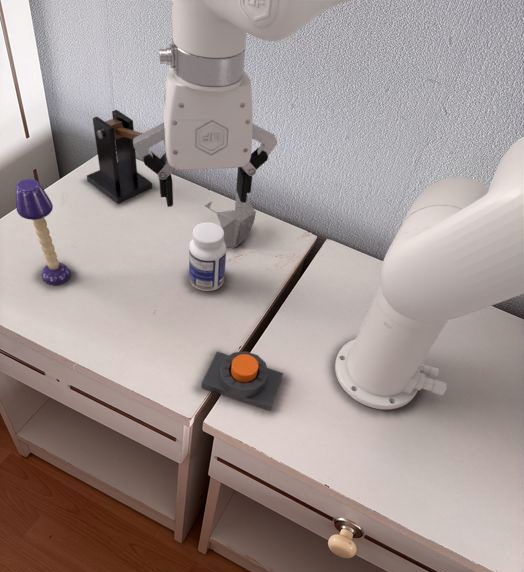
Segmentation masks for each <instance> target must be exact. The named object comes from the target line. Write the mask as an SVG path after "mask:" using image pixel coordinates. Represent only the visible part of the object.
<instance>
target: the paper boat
mask: <svg viewBox="0 0 524 572" xmlns="http://www.w3.org/2000/svg"><path fill="white" fill-rule="evenodd" d="M212 203H213V202H212V201H209V202H208V203H206V204H204V207H205V208H207V209H209V210H210V211H212V212H214V213H216V216H217V218H218V221H219V224H220V227H221V228H222V229H223V231H224V242H225V244H226V248H227V249H236V248H237V247H238V246H239V245H241V243H242V242H243V241H244V240H245V239H246V238H247V237H248V236H249V235H250V234H251V233H252V230H253V229H252V228H253V226H254V222H255V219H256V214H257V211H256V210H255V208H254V207H253V206H252V204H251V203H250V201H249V200H248V199H246V203H242V202H240V199H239V196H238V193H237V190H236V189H235V202H234V205H235V206H234V209H233V210H225V211H215V210H213V209H212V208H211V205H212Z"/></svg>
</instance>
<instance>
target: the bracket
mask: <svg viewBox="0 0 524 572" xmlns="http://www.w3.org/2000/svg"><path fill="white" fill-rule="evenodd" d="M111 114H112V115H111V116H112V119H114V120H118V121H122V124H123V128H126V129H130V130H133V131H135V130H134V129H135V127H134V120H133V119H131V118H130V117H129V116H127V115H126V114H124V113H122V112H121V111H119V110H118V109H114V110H111ZM105 121H106V120H103V119H101V118H100V117H98V116H95V117H92V125H93V132H94V138H95V139H94V140H95V146H96V152H97V159H98V166H99V170H97V171H94V172H91V173H89V174H87V175H86V180H87V182H88V183H90V185H92V186H93V187H95V188H96V189H97V190H98V191H100V192H101V193H102V194H104V195H105V196H106V197H108V198H109V199H110V200H112V201H113V202H114V203H116V204H117V205H120V204H122V203H124V202H127V201H128V200H130V199H132V198H135V197H137V196H139V195H141V194H143V193H145V192H148V191H149V190H152V189H153V182H152V181H150V180H149V179H148V178H146V177H145V176H144V175H142V174H141V173H139V172H138V168H137V155H136V153H137V152H136V150H135V148H134V145H133V139H130V138H126V137H121V138H119V139H116V140H115V136H114V128H113V127H112V126H110V125H109V124H107V123H106V122H105Z"/></svg>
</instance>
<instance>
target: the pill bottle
mask: <svg viewBox="0 0 524 572" xmlns="http://www.w3.org/2000/svg"><path fill="white" fill-rule="evenodd" d="M226 259H227V247H226V244H225V242H224V231H223V229H222V227H221V225H219V224H217V223H215V222H209V221H208V222H207V221H206V222H201V223H198V224H197V225H195V226H194V227H193V230H192V239H191V240H190V241H189V244H188V279H189V282H190V284H191V285H192V286H193V287H194V289H196V290H199V291H202V292H212V291H216V290H218V289H219V288H221V287H222V285H223V284H224V282H225V277H226V276H225V274H226Z"/></svg>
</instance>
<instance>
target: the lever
mask: <svg viewBox="0 0 524 572" xmlns="http://www.w3.org/2000/svg"><path fill="white" fill-rule="evenodd" d="M104 121H105V122H106V123H107V124H109V125H110V126H112V127H113V128H114V136H115V140H116V139H119V138H121V137H126V138H130V139H134V138H135V137H137V136H139V135H141V134H143V133H144V132H140V131H136V130H134V131H133V130H130V129H126V128H123V124H122V121H118V120H114V119H113V118H112V119H109V120H104Z"/></svg>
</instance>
